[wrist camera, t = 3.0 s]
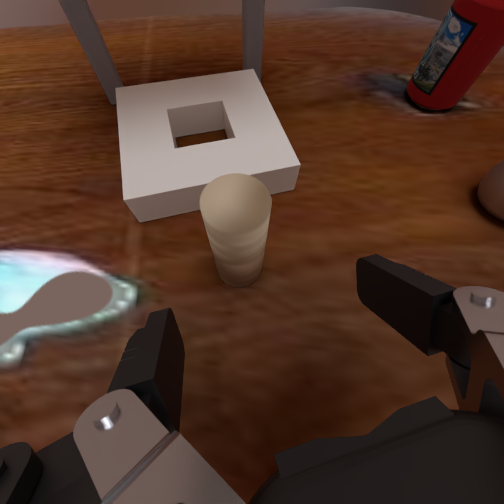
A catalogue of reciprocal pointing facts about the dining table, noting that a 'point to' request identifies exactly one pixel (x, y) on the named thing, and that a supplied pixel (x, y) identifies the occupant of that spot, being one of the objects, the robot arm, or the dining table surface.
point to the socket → (202, 155)
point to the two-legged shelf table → (102, 62)
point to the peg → (237, 226)
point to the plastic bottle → (493, 191)
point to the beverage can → (458, 53)
